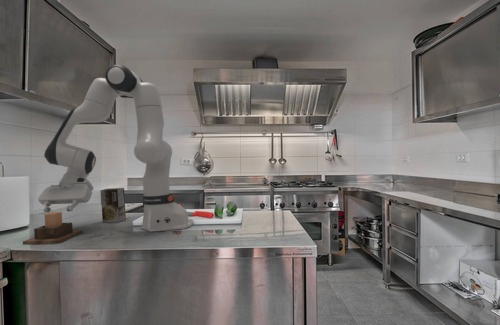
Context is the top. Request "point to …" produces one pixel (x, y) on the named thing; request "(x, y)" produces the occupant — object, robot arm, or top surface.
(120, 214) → the coffee box
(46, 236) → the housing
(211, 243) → the top surface
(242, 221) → the top surface
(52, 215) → the block
